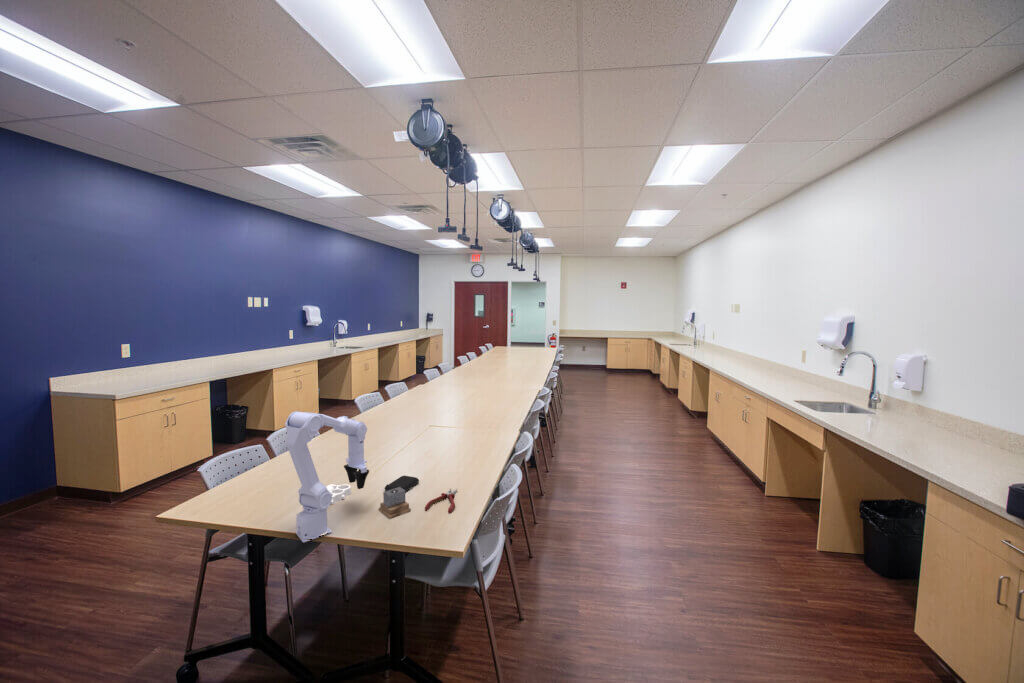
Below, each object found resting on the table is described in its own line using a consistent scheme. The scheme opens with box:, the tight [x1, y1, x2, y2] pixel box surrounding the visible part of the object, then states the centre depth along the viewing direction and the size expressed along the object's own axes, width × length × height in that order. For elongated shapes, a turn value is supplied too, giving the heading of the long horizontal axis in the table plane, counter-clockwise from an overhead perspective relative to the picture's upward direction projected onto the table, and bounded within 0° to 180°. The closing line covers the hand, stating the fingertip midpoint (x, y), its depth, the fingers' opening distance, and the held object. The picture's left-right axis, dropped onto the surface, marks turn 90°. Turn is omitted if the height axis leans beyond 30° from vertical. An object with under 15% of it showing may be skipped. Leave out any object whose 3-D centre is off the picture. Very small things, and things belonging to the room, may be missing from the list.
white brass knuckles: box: [325, 483, 352, 505], centre depth 170 cm, size 3×18×15 cm
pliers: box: [424, 488, 458, 514], centre depth 170 cm, size 12×20×3 cm, turn 169°
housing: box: [382, 487, 406, 508], centre depth 160 cm, size 4×7×5 cm, turn 134°
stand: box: [378, 501, 412, 520], centre depth 161 cm, size 9×9×3 cm
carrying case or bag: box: [384, 475, 420, 493], centre depth 183 cm, size 11×3×15 cm
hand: (356, 485), depth 162 cm, fingers open, 7 cm apart
